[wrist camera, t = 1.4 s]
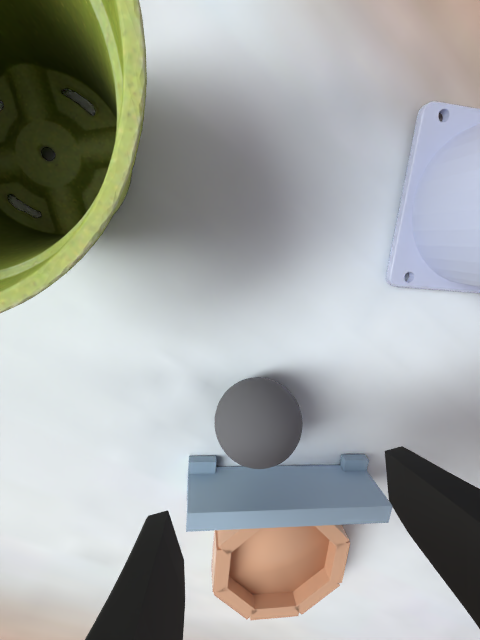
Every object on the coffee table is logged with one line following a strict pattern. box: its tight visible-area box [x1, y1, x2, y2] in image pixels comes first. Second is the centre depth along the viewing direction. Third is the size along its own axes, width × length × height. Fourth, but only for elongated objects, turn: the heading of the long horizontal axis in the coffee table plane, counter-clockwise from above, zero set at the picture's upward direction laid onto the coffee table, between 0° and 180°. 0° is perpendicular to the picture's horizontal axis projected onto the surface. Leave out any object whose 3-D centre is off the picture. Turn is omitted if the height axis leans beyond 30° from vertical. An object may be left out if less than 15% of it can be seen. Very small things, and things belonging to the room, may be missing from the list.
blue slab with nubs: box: [186, 454, 392, 532], centre depth 17 cm, size 10×2×3 cm, turn 85°
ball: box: [215, 377, 302, 469], centre depth 15 cm, size 4×4×4 cm
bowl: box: [212, 525, 350, 620], centre depth 19 cm, size 8×8×1 cm
